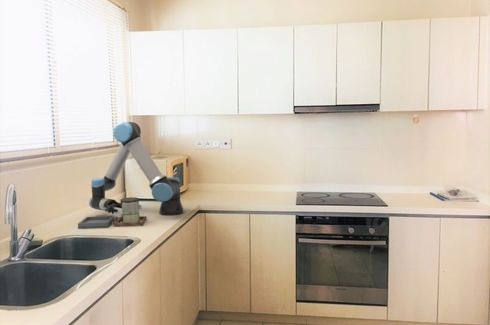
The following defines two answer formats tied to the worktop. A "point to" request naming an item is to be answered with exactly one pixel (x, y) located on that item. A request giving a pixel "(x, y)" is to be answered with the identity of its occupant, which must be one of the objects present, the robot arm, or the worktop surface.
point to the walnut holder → (118, 224)
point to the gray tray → (96, 222)
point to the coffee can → (130, 209)
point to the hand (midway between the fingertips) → (131, 209)
